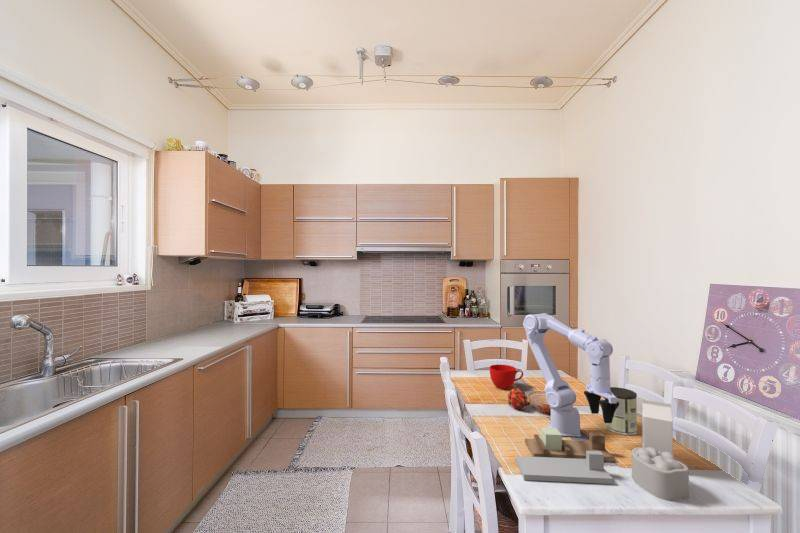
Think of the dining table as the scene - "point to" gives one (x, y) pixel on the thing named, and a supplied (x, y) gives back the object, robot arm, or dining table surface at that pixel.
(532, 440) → the walnut strip
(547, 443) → the cube
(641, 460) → the lumpy-topped squat cylinder
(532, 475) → the slate strip
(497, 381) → the ceramic cup
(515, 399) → the dragon fruit
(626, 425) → the coffee can
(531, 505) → the dining table surface
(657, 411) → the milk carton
